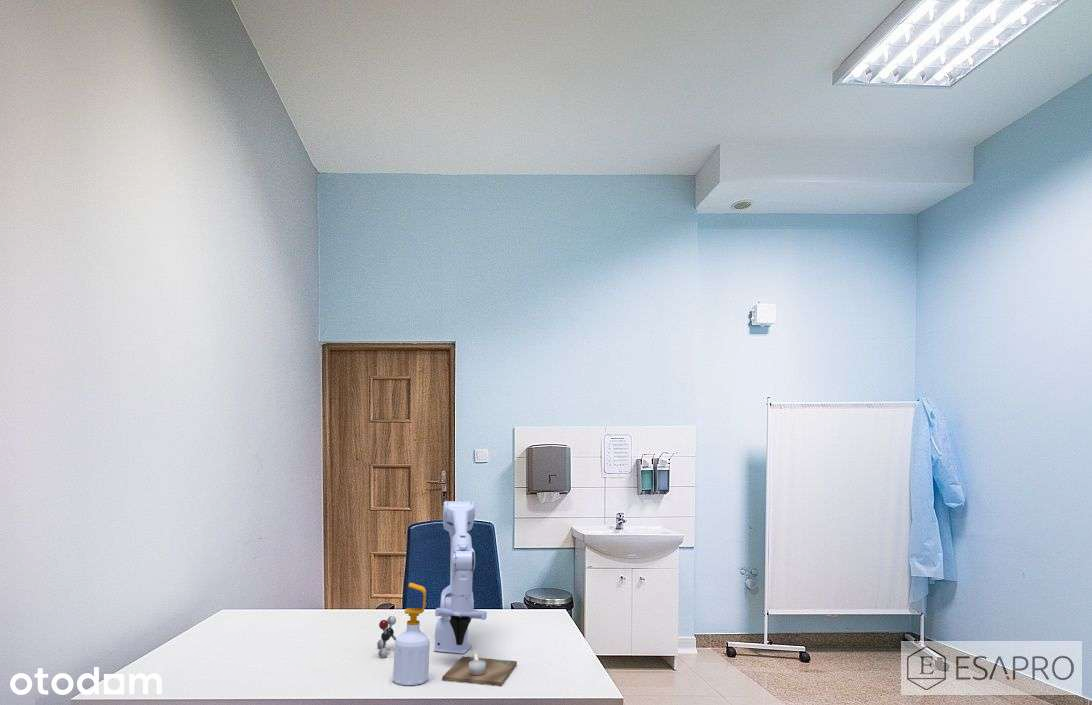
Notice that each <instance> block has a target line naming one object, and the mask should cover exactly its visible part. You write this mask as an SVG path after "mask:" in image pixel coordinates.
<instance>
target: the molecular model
mask: <svg viewBox="0 0 1092 705" xmlns="http://www.w3.org/2000/svg"><path fill="white" fill-rule="evenodd" d="M395 624H397V618H396V616H394V615H390V616H388V617H387V619H382V620H380V621H379V624H378V627H379V629H380V630H382V631H383V632H382V633H381V635H380V639H379V640H378V641H377V642H376V645H377V646H376V647H378V648H379V650H378V653H377V654H378V656H379V657H380V658H381V659H384V658H386V657H387V656H388V654H389V652H388V649H387V648H386V646H387V641H389V640H390V639H391V638H392V639H393V640H394V641H395V640H396V638H397V637H396V636H395V634H394V633H395V632H394V631H395V630H394V629H393V628H392V627H393V626H394V625H395Z"/></svg>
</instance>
